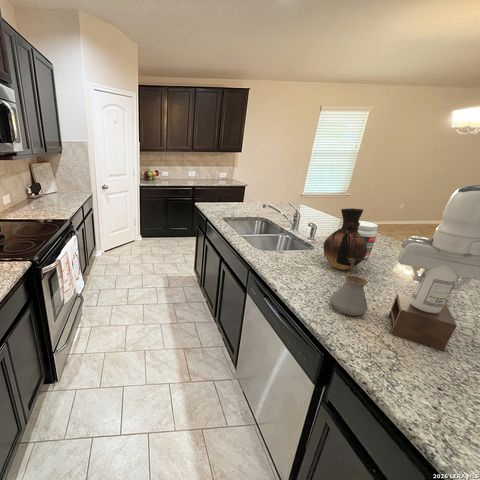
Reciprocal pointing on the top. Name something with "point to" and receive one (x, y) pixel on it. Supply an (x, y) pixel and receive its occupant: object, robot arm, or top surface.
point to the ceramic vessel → (346, 242)
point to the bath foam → (433, 289)
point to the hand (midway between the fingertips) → (435, 284)
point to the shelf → (421, 323)
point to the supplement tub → (368, 234)
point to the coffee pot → (351, 295)
